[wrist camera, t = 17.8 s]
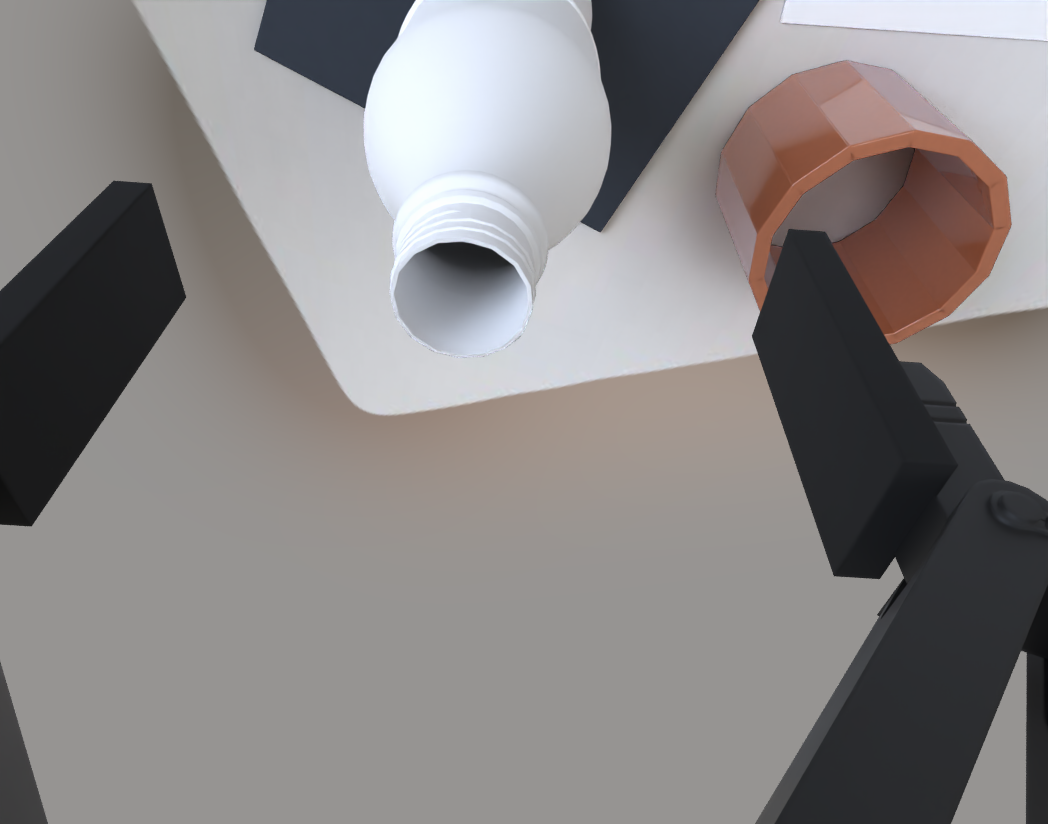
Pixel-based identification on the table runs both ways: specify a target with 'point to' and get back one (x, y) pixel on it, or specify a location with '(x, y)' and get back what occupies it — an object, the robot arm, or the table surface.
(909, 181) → the terracotta flower pot
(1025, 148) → the table surface
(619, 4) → the mat
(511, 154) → the water bottle
